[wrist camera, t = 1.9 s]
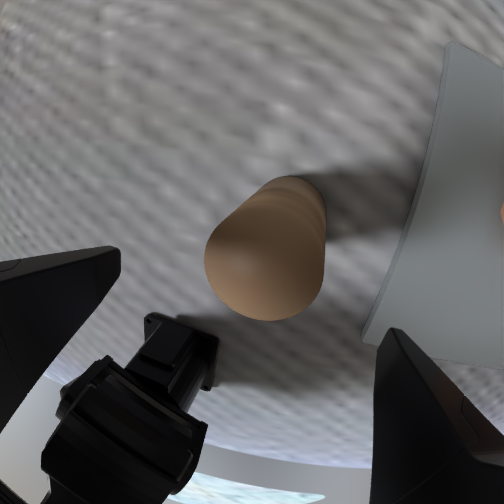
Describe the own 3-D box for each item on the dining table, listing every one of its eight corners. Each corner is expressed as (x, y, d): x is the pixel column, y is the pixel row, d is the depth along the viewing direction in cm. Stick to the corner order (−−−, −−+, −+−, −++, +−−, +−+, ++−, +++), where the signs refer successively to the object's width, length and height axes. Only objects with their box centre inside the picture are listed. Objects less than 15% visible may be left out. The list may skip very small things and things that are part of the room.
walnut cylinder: (315, 255, 19) (304, 333, 12) (247, 236, 19) (198, 301, 12) (334, 186, 17) (339, 228, 10) (261, 168, 18) (212, 196, 10)
